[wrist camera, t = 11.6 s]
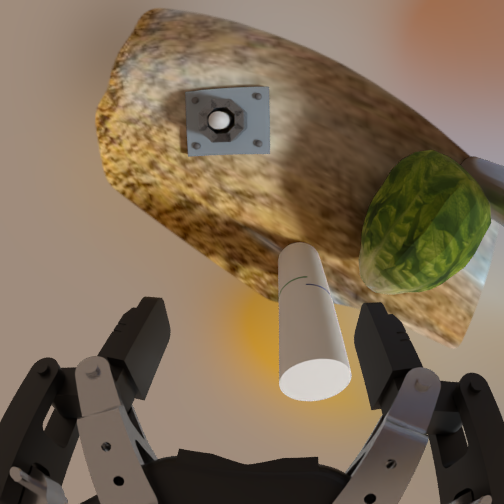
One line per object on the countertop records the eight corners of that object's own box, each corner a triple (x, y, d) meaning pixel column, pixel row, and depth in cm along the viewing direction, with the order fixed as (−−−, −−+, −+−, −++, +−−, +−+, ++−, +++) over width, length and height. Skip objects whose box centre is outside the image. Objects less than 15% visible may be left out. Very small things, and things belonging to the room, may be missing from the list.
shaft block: (269, 88, 35) (268, 78, 27) (269, 152, 39) (269, 159, 31) (188, 93, 35) (168, 86, 28) (191, 155, 40) (172, 163, 32)
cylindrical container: (314, 282, 48) (336, 402, 26) (274, 276, 48) (272, 398, 26) (324, 246, 45) (362, 360, 23) (282, 239, 45) (288, 355, 23)
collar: (247, 101, 34) (243, 97, 29) (247, 139, 36) (244, 141, 32) (207, 103, 34) (198, 100, 30) (208, 140, 37) (199, 143, 32)
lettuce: (316, 234, 45) (345, 318, 31) (398, 115, 31) (477, 162, 18) (385, 265, 50) (419, 336, 37) (458, 173, 37) (519, 230, 23)
